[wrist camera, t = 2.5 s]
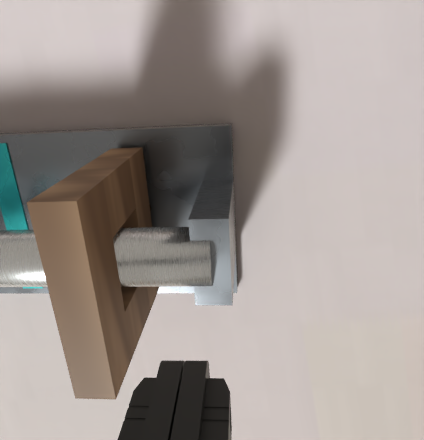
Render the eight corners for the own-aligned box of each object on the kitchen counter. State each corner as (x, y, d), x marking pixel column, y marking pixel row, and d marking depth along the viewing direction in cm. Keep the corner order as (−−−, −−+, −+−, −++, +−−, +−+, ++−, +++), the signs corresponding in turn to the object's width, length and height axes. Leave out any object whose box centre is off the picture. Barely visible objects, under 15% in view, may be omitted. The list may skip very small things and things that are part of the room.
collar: (142, 147, 24) (76, 201, 15) (159, 286, 28) (115, 399, 18) (110, 148, 24) (26, 202, 15) (132, 286, 28) (75, 398, 19)
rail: (231, 123, 24) (224, 150, 17) (237, 287, 29) (234, 367, 21) (-89, 137, 26) (-224, 167, 19) (-37, 287, 31) (-129, 360, 23)
